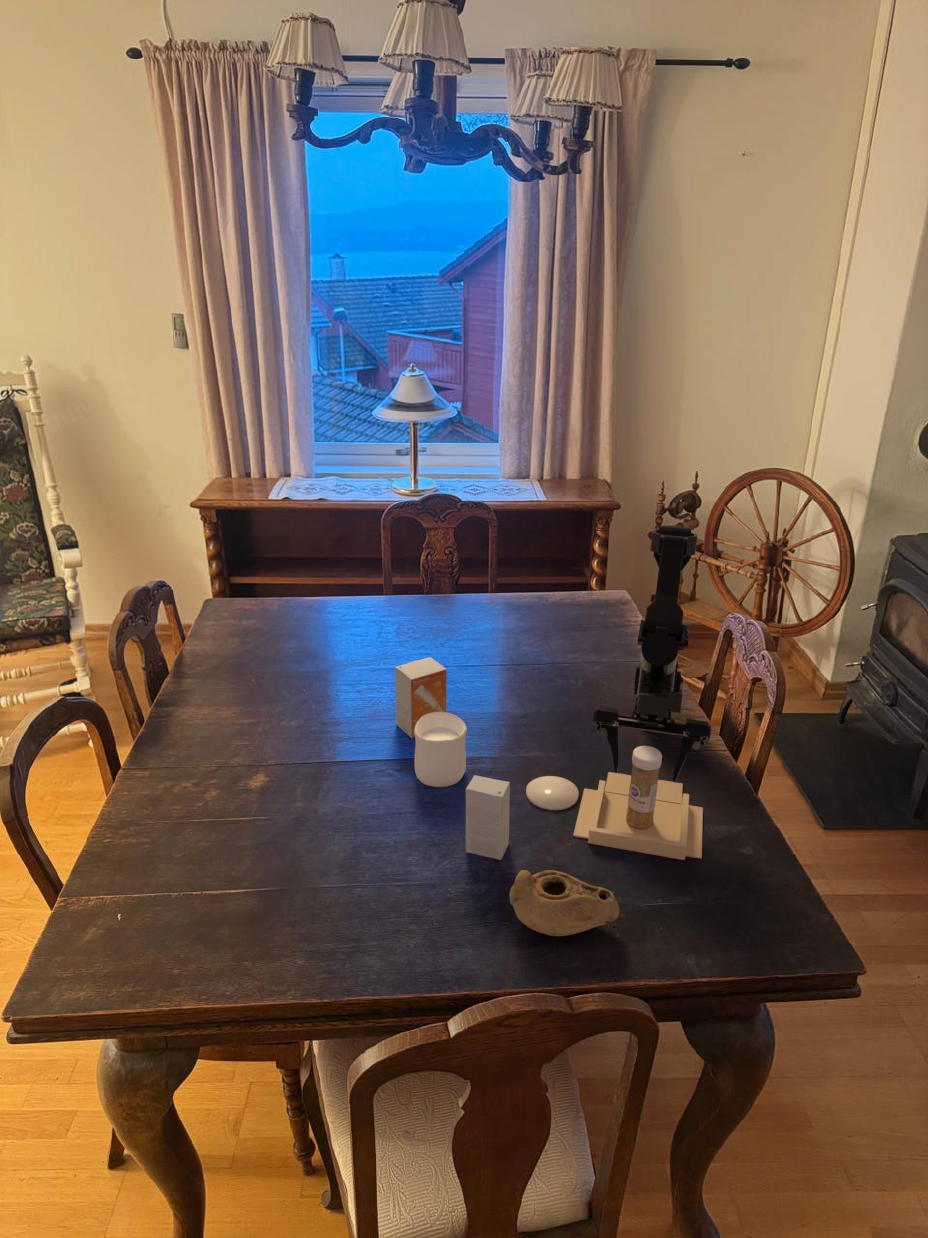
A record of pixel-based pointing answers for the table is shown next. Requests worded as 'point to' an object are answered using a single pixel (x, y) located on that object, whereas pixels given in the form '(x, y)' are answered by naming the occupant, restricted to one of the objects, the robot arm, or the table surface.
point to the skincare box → (487, 817)
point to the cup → (440, 749)
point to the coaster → (552, 793)
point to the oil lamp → (560, 903)
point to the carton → (666, 837)
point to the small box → (419, 692)
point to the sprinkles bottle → (643, 786)
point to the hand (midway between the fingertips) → (644, 777)
